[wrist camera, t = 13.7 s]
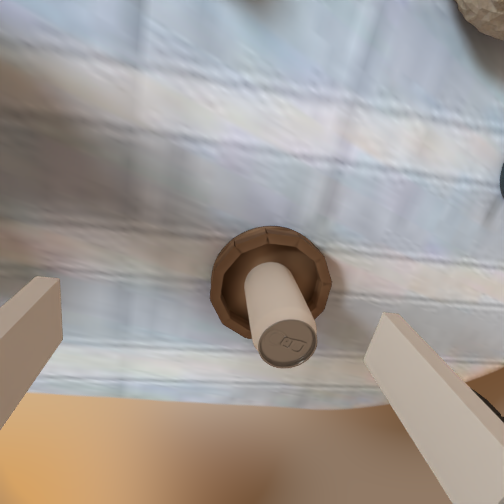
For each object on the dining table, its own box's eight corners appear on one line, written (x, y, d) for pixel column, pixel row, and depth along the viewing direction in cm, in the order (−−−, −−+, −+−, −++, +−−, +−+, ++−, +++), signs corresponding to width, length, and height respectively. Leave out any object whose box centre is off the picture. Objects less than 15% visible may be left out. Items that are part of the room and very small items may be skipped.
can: (258, 252, 37) (275, 305, 26) (302, 272, 39) (335, 330, 28) (235, 293, 39) (241, 359, 28) (277, 311, 41) (299, 379, 30)
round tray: (205, 322, 42) (204, 336, 39) (218, 218, 36) (218, 226, 33) (308, 330, 44) (314, 343, 41) (336, 234, 38) (345, 242, 36)
